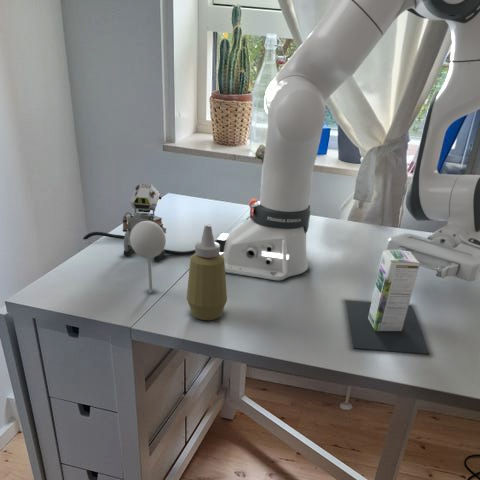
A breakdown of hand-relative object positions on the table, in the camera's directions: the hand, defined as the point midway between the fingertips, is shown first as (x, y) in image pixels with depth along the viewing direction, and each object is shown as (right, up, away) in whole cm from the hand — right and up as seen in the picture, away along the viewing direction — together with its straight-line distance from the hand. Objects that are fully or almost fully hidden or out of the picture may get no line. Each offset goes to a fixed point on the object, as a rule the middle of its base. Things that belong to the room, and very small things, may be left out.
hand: (418, 266), depth 115 cm
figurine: (-59, +10, +23) cm, 64 cm away
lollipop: (-55, -4, +6) cm, 56 cm away
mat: (-7, -12, -1) cm, 14 cm away
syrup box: (-7, -12, 0) cm, 14 cm away
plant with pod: (-29, +25, +45) cm, 59 cm away
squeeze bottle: (-43, -10, 0) cm, 44 cm away
